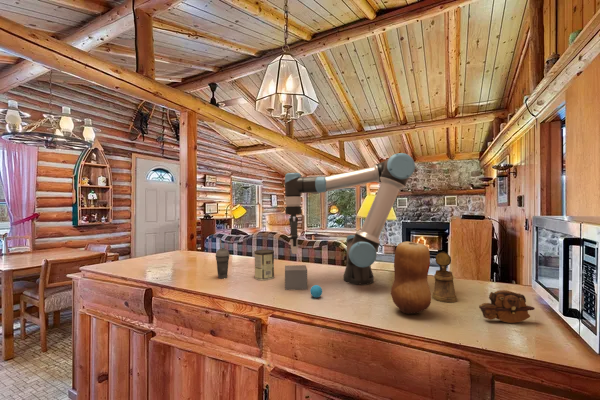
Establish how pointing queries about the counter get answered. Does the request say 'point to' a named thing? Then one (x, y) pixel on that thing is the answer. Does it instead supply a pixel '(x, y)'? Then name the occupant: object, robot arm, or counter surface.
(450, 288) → the brown pawn shape
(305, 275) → the grey cubic block
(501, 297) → the wooden carving
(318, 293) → the ball
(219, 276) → the beverage cup
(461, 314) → the counter surface
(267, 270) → the coffee can
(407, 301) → the butternut squash
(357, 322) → the counter surface
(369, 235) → the robot arm
